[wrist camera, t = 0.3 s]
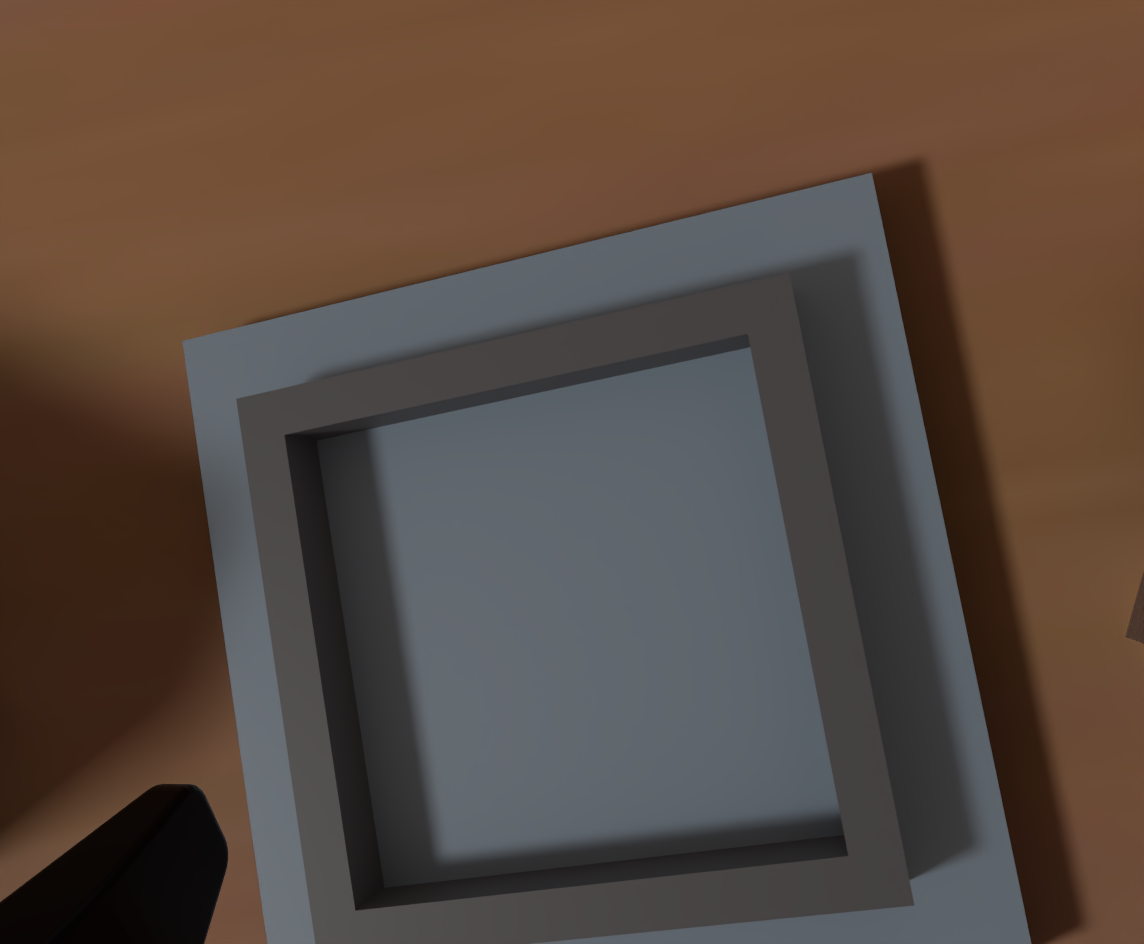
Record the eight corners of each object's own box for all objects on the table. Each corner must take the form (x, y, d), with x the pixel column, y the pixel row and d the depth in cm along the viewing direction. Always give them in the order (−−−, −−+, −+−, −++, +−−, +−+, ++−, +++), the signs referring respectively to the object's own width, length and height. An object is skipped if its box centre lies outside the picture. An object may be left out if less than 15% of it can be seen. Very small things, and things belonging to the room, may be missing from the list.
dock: (1027, 953, 22) (1053, 1009, 19) (306, 1016, 26) (245, 1072, 23) (870, 190, 24) (874, 147, 21) (210, 349, 27) (143, 329, 24)
